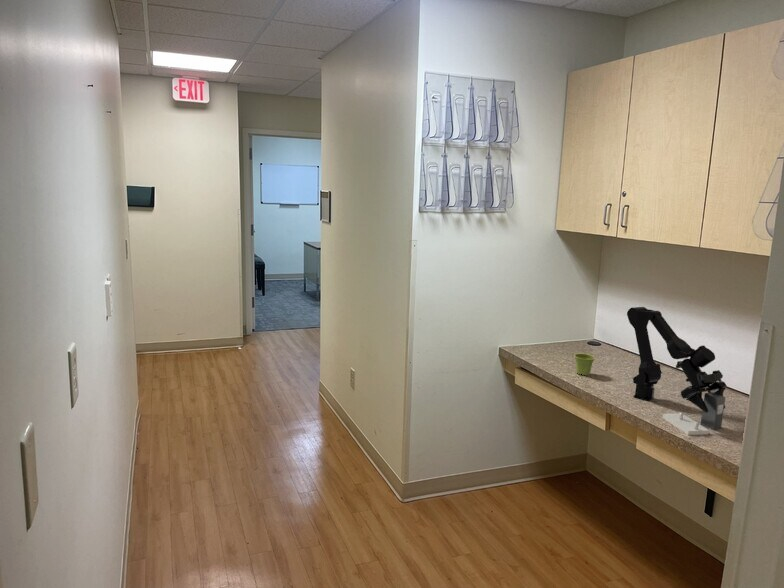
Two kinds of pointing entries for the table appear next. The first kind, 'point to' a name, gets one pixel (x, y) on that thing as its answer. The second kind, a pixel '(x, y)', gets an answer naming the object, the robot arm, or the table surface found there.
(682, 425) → the dock
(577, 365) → the plant pot
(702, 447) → the table surface
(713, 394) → the block
